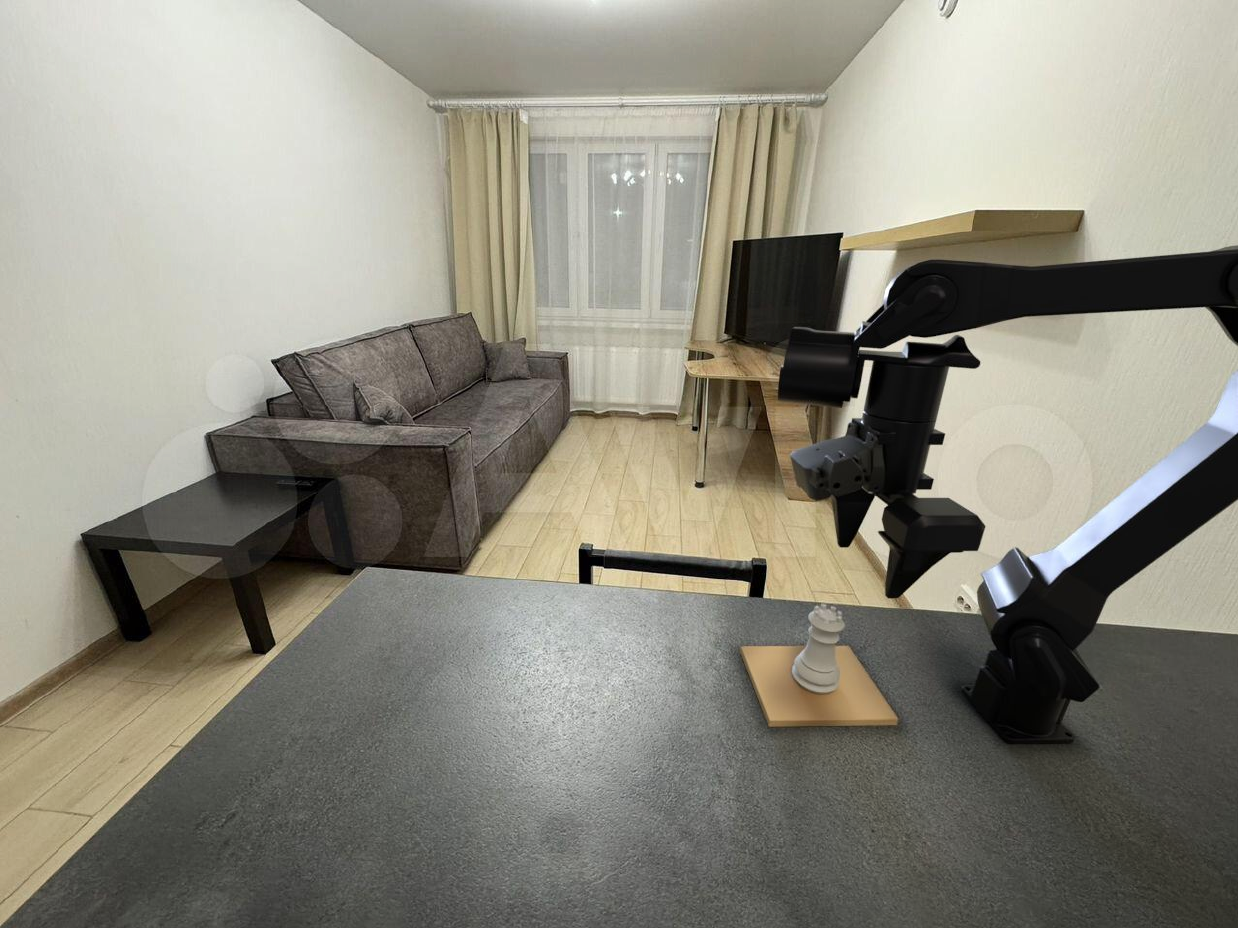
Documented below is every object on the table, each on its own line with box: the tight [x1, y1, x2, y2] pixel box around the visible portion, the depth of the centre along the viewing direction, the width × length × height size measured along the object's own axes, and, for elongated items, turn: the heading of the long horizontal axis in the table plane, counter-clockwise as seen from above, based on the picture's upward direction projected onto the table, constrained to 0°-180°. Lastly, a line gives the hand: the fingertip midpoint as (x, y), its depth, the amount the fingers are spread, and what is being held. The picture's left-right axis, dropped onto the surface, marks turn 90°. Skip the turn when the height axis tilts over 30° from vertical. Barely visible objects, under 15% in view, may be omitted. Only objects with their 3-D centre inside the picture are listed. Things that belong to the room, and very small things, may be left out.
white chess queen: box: [792, 603, 846, 694], centre depth 51 cm, size 4×4×8 cm
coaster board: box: [739, 645, 899, 728], centre depth 52 cm, size 12×10×1 cm
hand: (865, 569), depth 51 cm, fingers open, 9 cm apart
